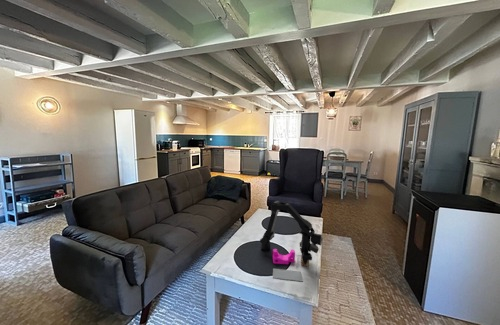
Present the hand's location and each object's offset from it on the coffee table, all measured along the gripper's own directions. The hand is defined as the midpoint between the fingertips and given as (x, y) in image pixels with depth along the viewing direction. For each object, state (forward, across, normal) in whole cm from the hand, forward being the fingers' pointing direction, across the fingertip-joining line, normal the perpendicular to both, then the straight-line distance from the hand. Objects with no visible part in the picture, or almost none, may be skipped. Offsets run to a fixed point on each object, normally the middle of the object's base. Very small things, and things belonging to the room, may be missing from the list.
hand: (304, 262), depth 142 cm
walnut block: (+1, 0, 0) cm, 1 cm away
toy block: (+2, 0, +14) cm, 14 cm away
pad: (+1, -14, +12) cm, 19 cm away
